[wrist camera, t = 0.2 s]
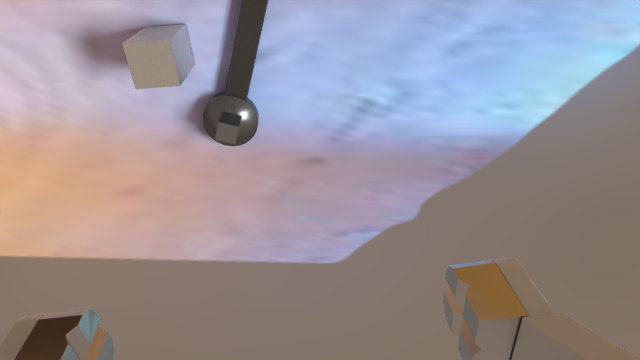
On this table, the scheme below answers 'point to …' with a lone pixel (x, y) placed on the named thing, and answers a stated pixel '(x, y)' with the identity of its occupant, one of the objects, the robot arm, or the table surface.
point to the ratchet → (238, 83)
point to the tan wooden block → (159, 56)
